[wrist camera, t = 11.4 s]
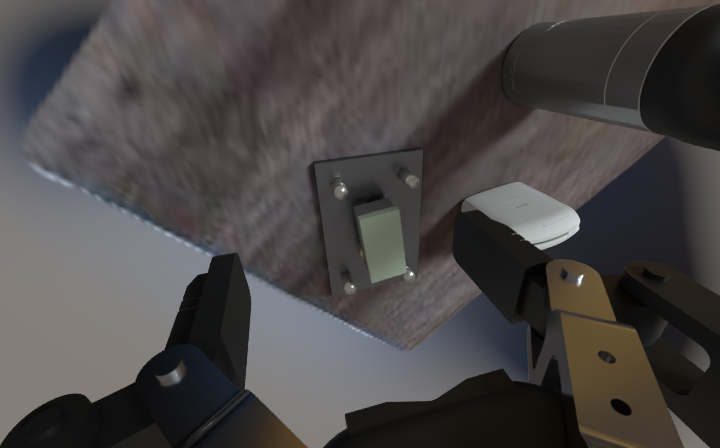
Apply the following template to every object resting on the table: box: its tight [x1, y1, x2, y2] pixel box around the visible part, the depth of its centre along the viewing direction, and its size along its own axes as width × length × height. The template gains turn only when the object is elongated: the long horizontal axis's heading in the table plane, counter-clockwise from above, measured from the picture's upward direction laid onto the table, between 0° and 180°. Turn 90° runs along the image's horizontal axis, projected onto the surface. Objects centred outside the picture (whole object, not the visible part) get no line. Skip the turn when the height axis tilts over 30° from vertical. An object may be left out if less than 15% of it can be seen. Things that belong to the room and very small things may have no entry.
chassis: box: [313, 148, 423, 296], centre depth 43 cm, size 14×21×4 cm, turn 3°
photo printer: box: [461, 182, 580, 250], centre depth 42 cm, size 10×4×12 cm, turn 102°
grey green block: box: [353, 198, 407, 283], centre depth 41 cm, size 5×10×4 cm, turn 10°
